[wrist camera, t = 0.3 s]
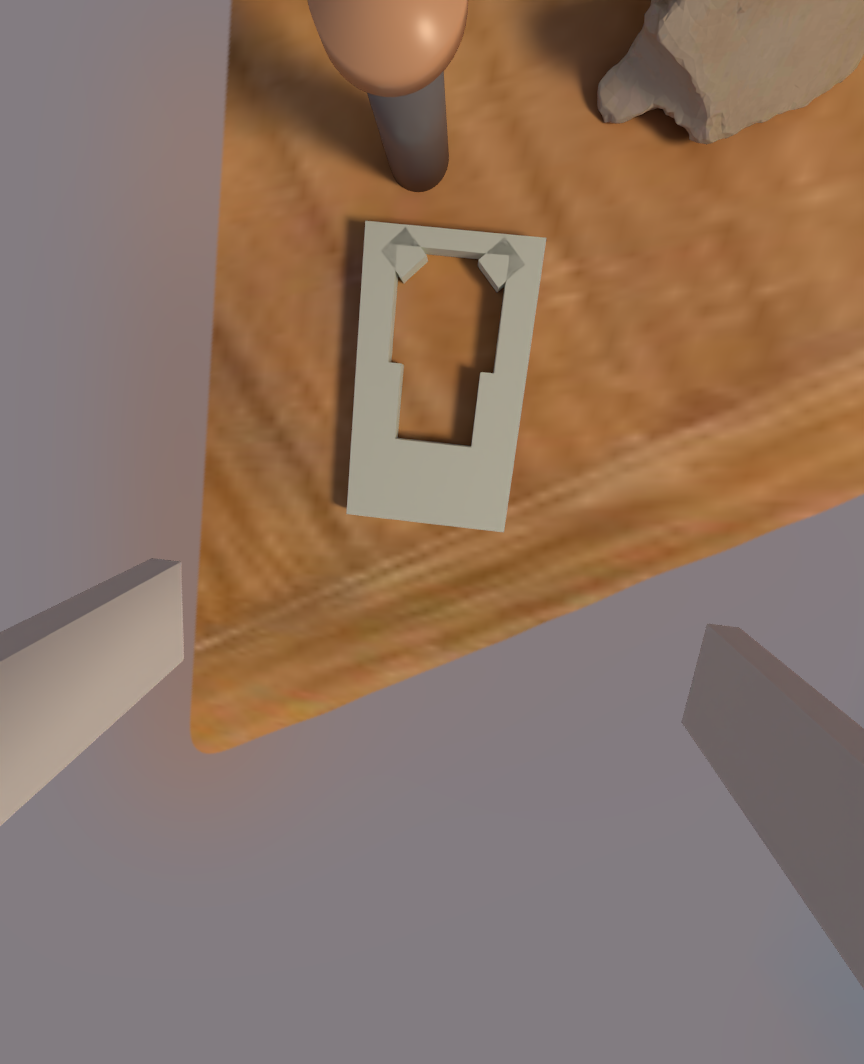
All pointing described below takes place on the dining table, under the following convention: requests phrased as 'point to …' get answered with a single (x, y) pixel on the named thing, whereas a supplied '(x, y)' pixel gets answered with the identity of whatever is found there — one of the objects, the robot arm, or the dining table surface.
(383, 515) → the keyhole board
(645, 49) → the decorative stone
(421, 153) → the peg
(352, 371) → the dining table surface
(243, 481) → the dining table surface
